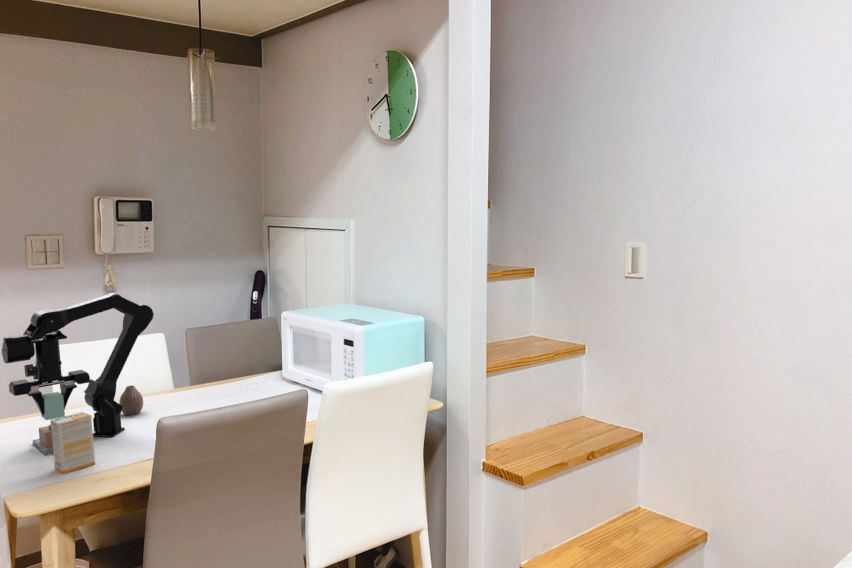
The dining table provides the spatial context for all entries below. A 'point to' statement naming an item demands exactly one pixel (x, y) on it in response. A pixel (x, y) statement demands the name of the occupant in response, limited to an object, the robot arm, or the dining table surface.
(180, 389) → the dining table surface
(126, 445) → the dining table surface
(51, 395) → the block
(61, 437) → the supplement box
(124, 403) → the vase
